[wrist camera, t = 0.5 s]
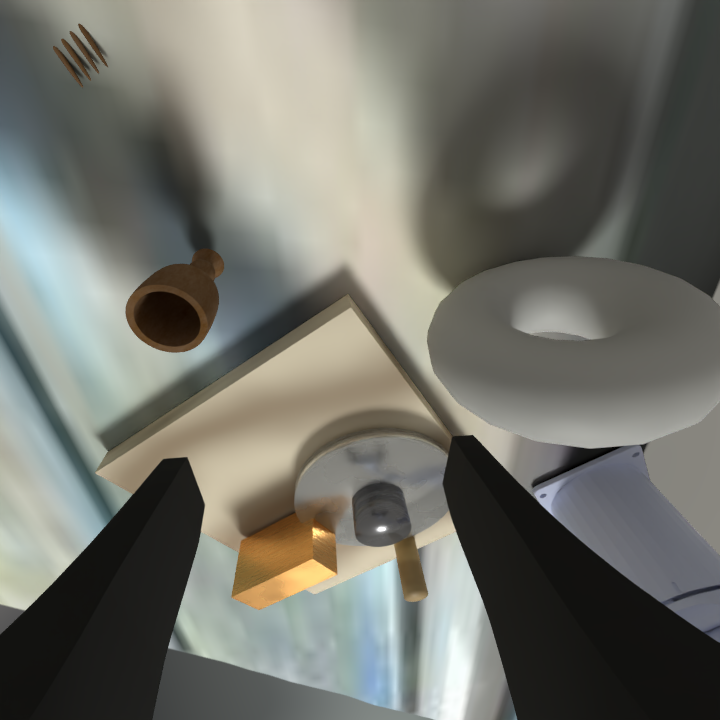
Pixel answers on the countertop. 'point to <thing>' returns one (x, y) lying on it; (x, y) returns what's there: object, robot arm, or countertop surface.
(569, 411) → the donut
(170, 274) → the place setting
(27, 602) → the countertop surface
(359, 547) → the board
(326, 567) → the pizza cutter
